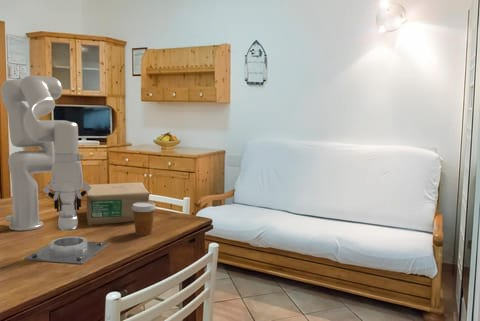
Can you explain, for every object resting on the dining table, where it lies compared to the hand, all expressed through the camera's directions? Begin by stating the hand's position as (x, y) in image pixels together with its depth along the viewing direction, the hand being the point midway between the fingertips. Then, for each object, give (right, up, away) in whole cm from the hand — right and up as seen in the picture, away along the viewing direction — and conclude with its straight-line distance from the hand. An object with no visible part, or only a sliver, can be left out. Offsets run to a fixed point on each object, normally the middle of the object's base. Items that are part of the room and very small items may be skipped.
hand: (67, 209), depth 146 cm
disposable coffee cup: (+20, -13, +26) cm, 35 cm away
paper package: (+2, -9, +51) cm, 52 cm away
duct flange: (0, -15, +2) cm, 15 cm away
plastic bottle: (0, -7, +1) cm, 7 cm away
